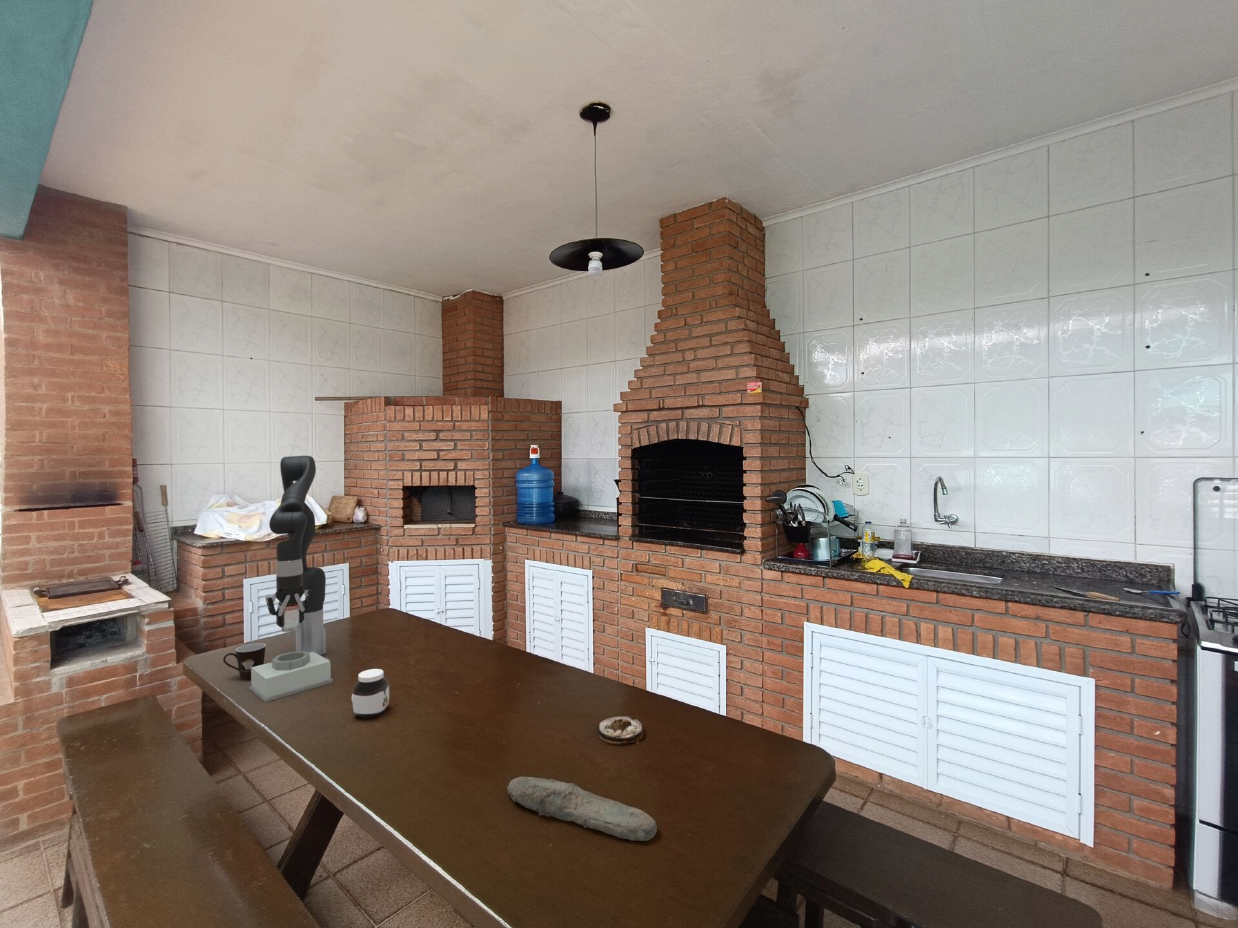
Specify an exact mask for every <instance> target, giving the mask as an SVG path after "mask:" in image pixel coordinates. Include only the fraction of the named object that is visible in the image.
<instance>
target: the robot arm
mask: <svg viewBox="0 0 1238 928" xmlns="http://www.w3.org/2000/svg"><path fill="white" fill-rule="evenodd" d="M279 464H280V465H279V469H280V475H281V476H280V477H281V482H282V488H283V494H282V497H281V501H280V504H279V506H278V507H277V508H276V509H275V511H273V513H272V514H271V517H270V520H269V524H268V525H269V530H270V531H271V532H272V533H273V534H275V535H287V540H283V541H280V542H278V543H277V545H276V566H275V582H276V584H275V585H276V590H275V591H276V592H275V594H274V595H270V596H266V597H265V602H266V605H267V609H268V613H269V615H272V616H275V620H276V623H275V624H276V625H277V626H278V627H279V628H281V627H283V616H282V614H283V611H284V609H285V607H286V605H290V604H298V605H299V606H300V607H299V611H300V629H299V630H296V631H295V652H298V651H305V652H307V653H311V652H315V653H317V654H318V655H320V656H323V655H325V654H327V635H326V634H327V633H326V631H327V629H326V628H325V627H324V603H325V599H326V585H327V584H326V583H327V581H326V577H327V576H326V574H325V571H324V569H322V568H321V567H313V566H312V567H311V566H308V564H307V554H308V549H309V548H310V546H311V544H312V542H313V540H314V539H315V538H314V537H315V536H316V531H317V530H316V519H315V518H316V517H315V513H314V512H313V510H312V509H311V508H310V506H309V505H308V504H307V503H306V497H307V495H308V493H309V490H310V488H311V486H312V484H313V482H314V479H315V476H316V472H317V471H316V469H317V467H316V461H315V458H314V457H313V456H311V455H293V456H292V455H291V456H283V457H282V458H281V459H280V463H279ZM303 595H304V596H305V598H304V600H301V599H302V598H303ZM276 600H278V601H279V602H278V603H277V607H275V604H274V603H275V602H276ZM276 608H277V609H276Z"/></svg>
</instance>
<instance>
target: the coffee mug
mask: <svg viewBox="0 0 1238 928" xmlns="http://www.w3.org/2000/svg"><path fill="white" fill-rule="evenodd" d="M266 647H267V645H266V643H260V642H259V643H249V644H244V645H242V646H239V647H237V648H236V649H235V653H233V652H229V653H227V654H225V655H223V660H222V661H223V663H224V664H225V665H226V666H228V667H229V668H232V669H233V670H236V671H238V672H239V679H240V680H241V681H251V667H255V666H259V665H263V664H265V655H266ZM228 656H234V658H235V659H236V660H237V666H238V667H236V666H234V665H231V664H229V662H227V661H226V658H227V657H228Z"/></svg>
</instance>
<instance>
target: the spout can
mask: <svg viewBox="0 0 1238 928" xmlns="http://www.w3.org/2000/svg"><path fill="white" fill-rule="evenodd" d="M299 607H300V606H299V605H298V604H290V605H286V607H285V609H284V611H283V614H282V616H283V627H280V629H281V633H282V632H283V633H290V632H296V630H299V629H300V611H299Z"/></svg>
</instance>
